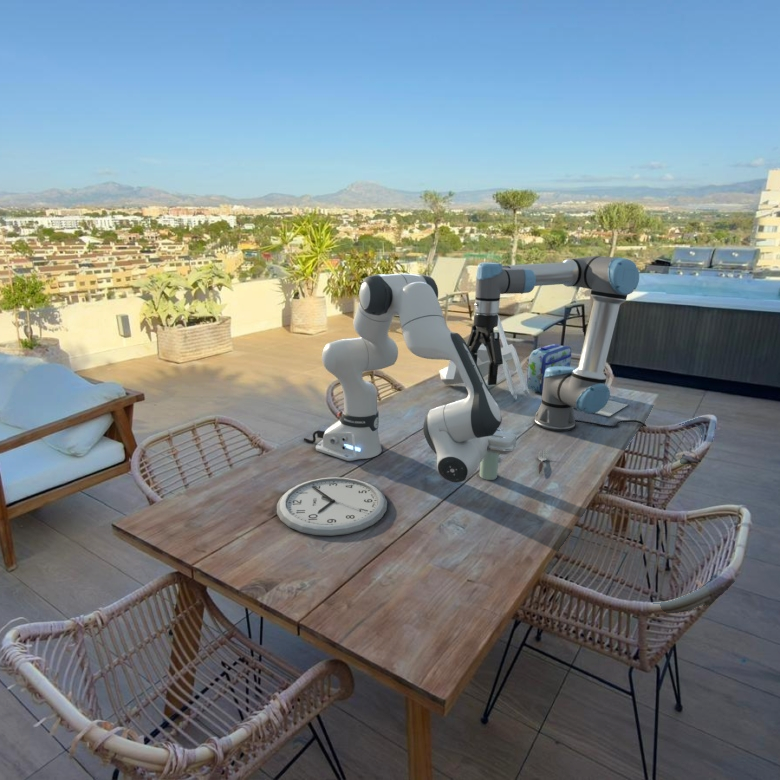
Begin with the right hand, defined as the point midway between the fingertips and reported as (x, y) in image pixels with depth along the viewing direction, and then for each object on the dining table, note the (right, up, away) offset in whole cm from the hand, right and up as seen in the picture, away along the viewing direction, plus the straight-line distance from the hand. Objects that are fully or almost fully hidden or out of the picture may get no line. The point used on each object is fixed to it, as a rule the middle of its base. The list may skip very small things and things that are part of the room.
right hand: (481, 378), depth 170 cm
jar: (+1, -30, -8) cm, 31 cm away
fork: (+19, -28, 0) cm, 34 cm away
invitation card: (+62, -11, +57) cm, 84 cm away
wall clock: (-46, -35, -27) cm, 63 cm away
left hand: (-4, -14, -24) cm, 28 cm away
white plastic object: (+12, -5, +74) cm, 75 cm away
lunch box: (+45, -3, +81) cm, 92 cm away
